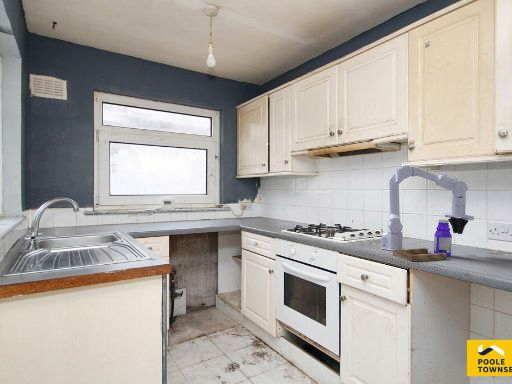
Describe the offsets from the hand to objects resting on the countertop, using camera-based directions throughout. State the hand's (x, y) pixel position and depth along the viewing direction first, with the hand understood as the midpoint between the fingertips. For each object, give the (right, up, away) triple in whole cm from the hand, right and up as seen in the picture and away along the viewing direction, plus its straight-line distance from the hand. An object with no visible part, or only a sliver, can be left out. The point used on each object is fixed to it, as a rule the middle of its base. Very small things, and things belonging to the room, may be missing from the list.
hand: (457, 233), depth 147 cm
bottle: (-9, -11, -2) cm, 14 cm away
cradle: (-22, -10, -6) cm, 25 cm away
